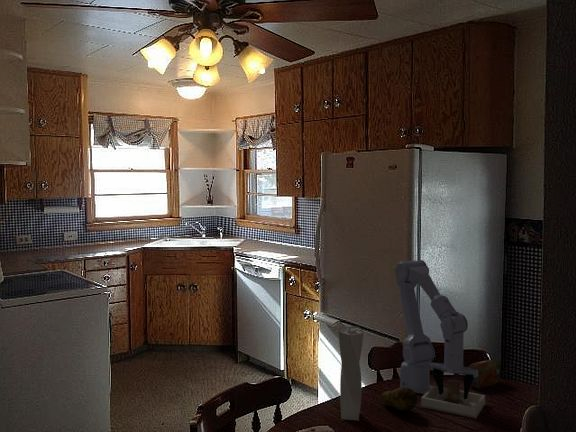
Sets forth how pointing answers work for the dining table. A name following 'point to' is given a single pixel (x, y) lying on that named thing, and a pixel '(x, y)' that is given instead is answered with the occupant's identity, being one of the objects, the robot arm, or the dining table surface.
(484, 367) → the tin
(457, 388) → the peg
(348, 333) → the tall white vase
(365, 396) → the dining table surface
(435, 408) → the box
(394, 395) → the potato
